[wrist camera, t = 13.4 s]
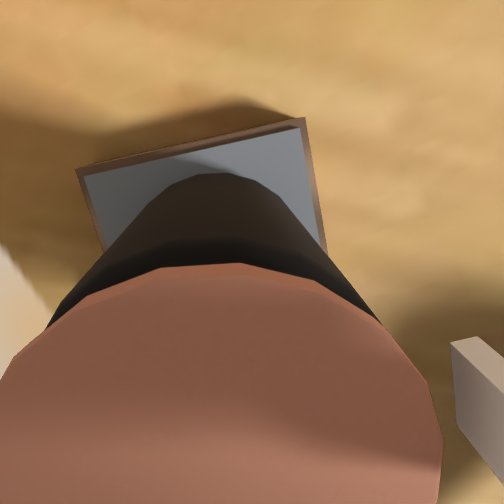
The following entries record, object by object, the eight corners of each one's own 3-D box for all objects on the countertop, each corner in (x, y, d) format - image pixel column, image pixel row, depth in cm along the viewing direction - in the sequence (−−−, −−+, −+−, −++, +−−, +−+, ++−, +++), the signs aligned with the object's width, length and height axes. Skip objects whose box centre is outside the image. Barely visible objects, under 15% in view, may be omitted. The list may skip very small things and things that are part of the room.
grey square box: (327, 303, 33) (341, 327, 29) (151, 343, 33) (142, 373, 29) (294, 117, 28) (306, 117, 25) (92, 163, 28) (72, 170, 24)
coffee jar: (158, 346, 28) (63, 693, 11) (110, 190, 25) (-128, 339, 8) (313, 312, 28) (459, 604, 11) (286, 153, 25) (431, 219, 8)
